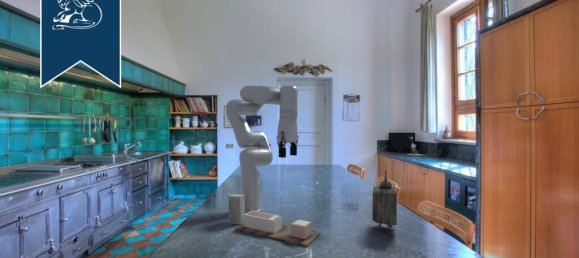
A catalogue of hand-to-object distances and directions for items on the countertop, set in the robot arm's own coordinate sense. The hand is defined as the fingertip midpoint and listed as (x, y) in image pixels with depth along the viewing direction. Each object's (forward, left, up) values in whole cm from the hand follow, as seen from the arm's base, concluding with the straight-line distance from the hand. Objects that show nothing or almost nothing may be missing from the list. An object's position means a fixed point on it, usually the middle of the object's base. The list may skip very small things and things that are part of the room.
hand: (288, 156), depth 112 cm
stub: (+9, -6, -29) cm, 31 cm away
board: (-2, -6, -30) cm, 31 cm away
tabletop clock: (+36, +19, -31) cm, 51 cm away
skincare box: (-23, -5, -31) cm, 39 cm away
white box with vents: (-8, -6, -30) cm, 32 cm away
